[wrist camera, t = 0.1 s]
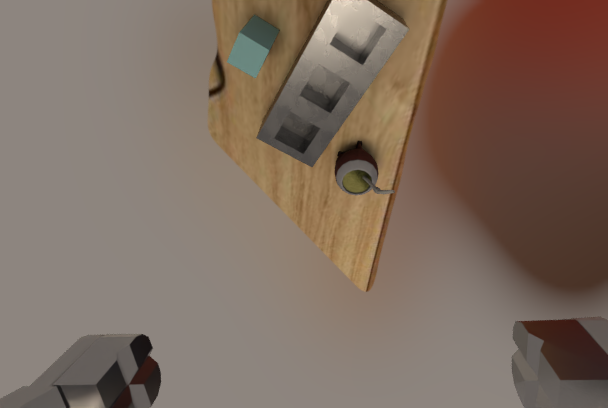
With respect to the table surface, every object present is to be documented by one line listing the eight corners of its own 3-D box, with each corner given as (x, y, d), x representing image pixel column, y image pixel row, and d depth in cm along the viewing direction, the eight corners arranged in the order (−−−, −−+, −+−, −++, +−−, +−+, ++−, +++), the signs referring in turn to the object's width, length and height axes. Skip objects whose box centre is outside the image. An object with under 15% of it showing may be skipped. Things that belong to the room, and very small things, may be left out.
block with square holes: (341, -24, 48) (341, -18, 43) (402, 18, 51) (409, 29, 46) (262, 120, 62) (256, 138, 57) (314, 148, 64) (312, 167, 59)
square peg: (254, 14, 52) (239, 32, 44) (279, 30, 53) (269, 50, 45) (243, 40, 54) (226, 61, 46) (267, 55, 55) (255, 78, 47)
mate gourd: (331, 169, 67) (329, 223, 55) (341, 130, 62) (342, 181, 50) (371, 176, 67) (378, 232, 55) (384, 138, 62) (395, 191, 50)
